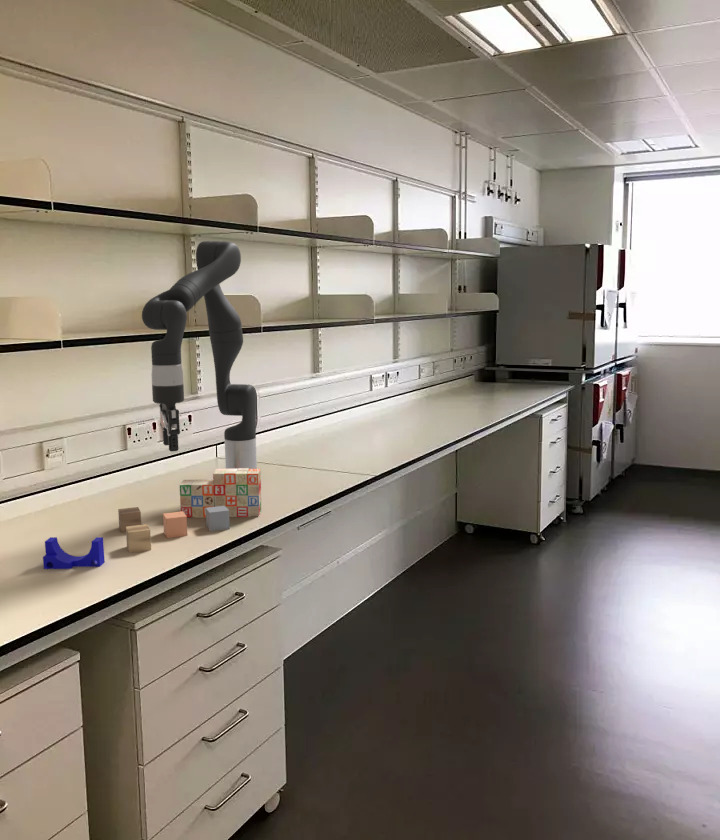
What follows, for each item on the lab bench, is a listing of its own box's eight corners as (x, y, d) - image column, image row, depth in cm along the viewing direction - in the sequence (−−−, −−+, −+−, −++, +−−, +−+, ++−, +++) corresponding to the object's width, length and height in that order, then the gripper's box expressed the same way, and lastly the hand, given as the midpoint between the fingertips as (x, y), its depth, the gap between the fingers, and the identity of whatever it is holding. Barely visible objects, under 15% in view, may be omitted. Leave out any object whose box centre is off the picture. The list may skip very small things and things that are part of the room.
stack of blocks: (180, 518, 214) (178, 473, 212) (184, 512, 220) (182, 468, 218) (259, 517, 215) (258, 472, 213) (262, 510, 221) (260, 467, 219)
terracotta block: (163, 532, 201) (163, 513, 201) (183, 530, 203) (182, 511, 202) (167, 538, 197) (166, 518, 196) (187, 535, 199) (186, 516, 198)
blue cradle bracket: (43, 569, 175) (41, 543, 174) (52, 562, 180) (50, 537, 179) (97, 569, 175) (95, 543, 174) (104, 562, 179) (103, 537, 178)
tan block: (119, 527, 206) (118, 509, 205) (139, 525, 208) (138, 507, 207) (121, 533, 201) (120, 514, 200) (141, 530, 203) (140, 511, 202)
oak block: (126, 546, 190) (125, 526, 189) (148, 544, 192) (147, 524, 191) (129, 553, 186) (128, 532, 185) (151, 550, 188) (150, 529, 187)
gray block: (206, 526, 206) (205, 507, 206) (225, 524, 208) (224, 505, 208) (210, 531, 202) (209, 512, 201) (229, 529, 204) (229, 510, 203)
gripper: (188, 385, 189) (191, 451, 191) (178, 379, 202) (181, 441, 204) (156, 386, 186) (159, 454, 189) (148, 380, 199) (151, 444, 202)
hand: (170, 447), depth 196 cm, fingers open, 8 cm apart
